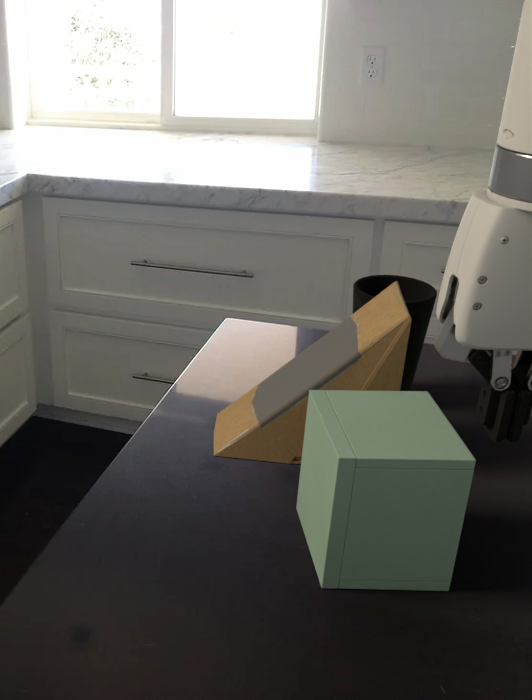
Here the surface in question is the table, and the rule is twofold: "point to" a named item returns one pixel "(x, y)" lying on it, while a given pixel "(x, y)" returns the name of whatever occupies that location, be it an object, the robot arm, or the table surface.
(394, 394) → the bin
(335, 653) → the table surface
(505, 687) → the table surface
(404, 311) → the sandwich container
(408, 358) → the cup
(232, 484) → the table surface
